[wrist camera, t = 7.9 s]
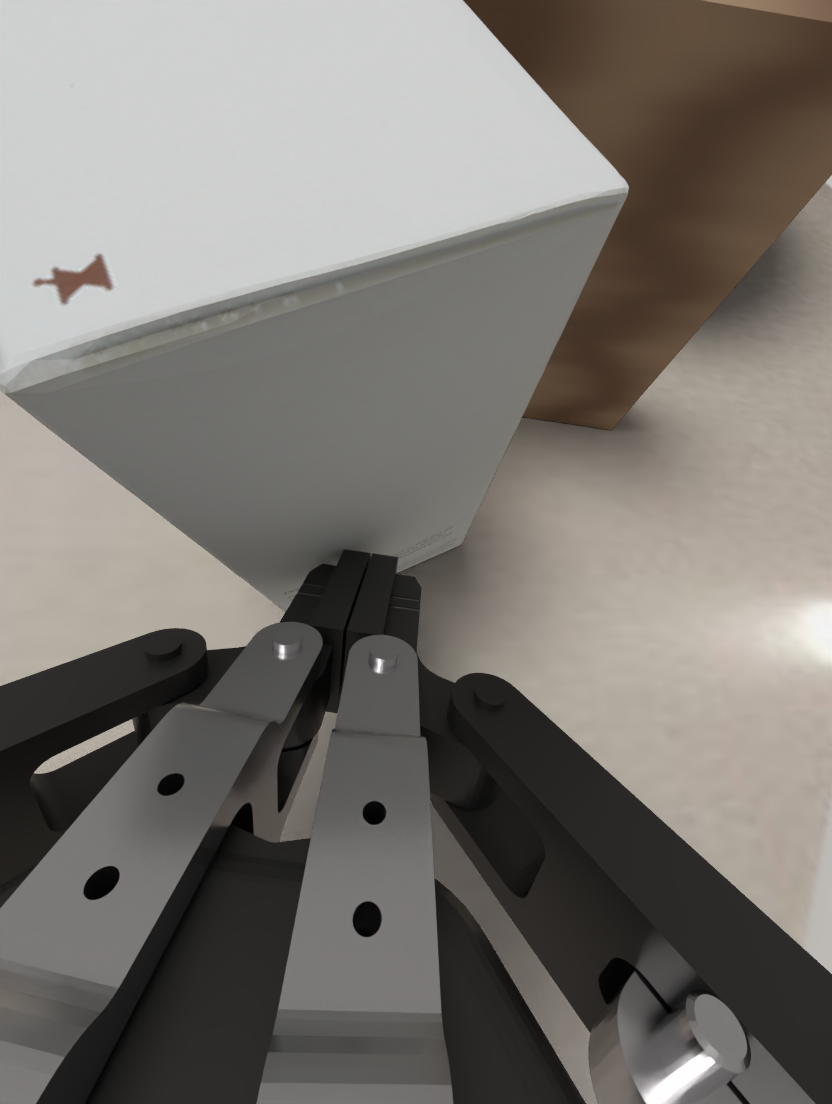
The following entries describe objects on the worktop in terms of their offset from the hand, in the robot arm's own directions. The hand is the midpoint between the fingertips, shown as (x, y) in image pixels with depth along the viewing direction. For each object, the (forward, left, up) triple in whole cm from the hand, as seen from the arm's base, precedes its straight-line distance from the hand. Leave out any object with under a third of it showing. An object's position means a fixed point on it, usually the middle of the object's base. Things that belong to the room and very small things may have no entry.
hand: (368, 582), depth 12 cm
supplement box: (-3, +3, -4) cm, 6 cm away
